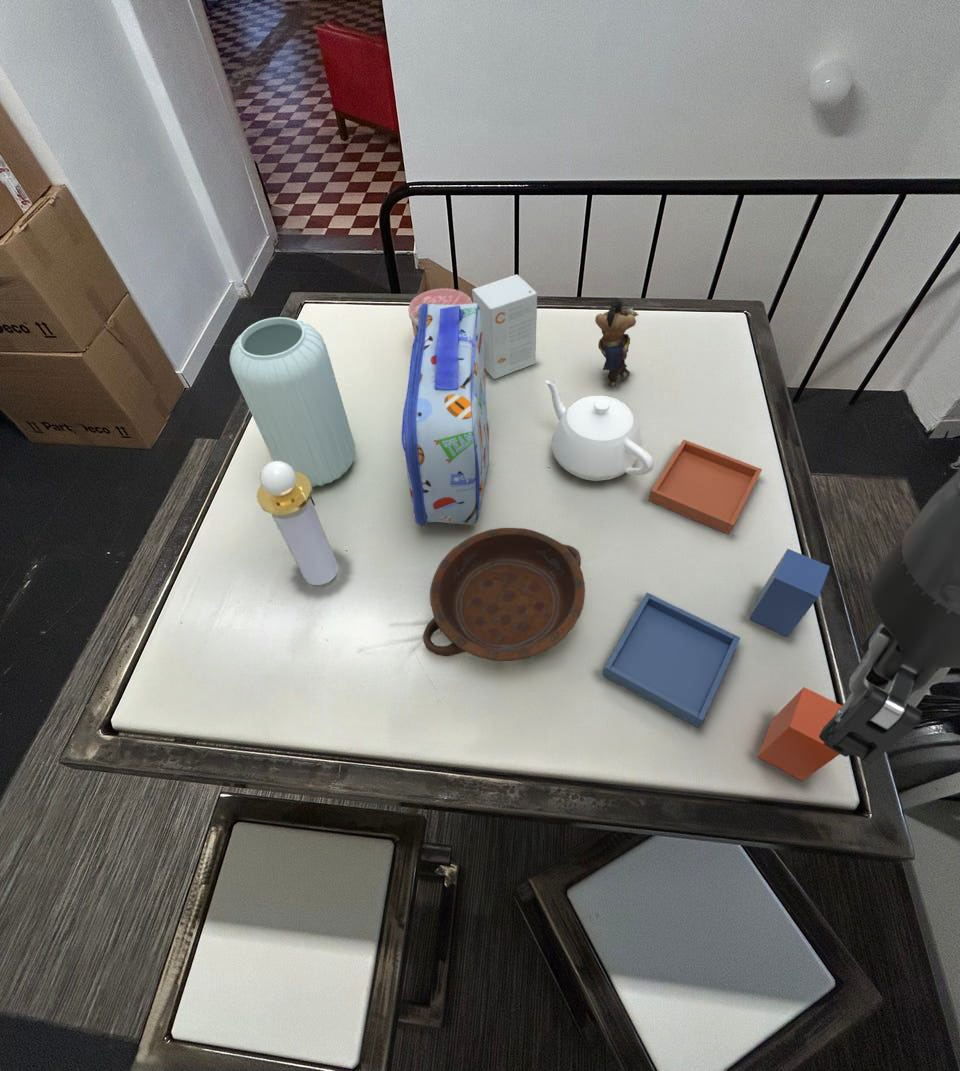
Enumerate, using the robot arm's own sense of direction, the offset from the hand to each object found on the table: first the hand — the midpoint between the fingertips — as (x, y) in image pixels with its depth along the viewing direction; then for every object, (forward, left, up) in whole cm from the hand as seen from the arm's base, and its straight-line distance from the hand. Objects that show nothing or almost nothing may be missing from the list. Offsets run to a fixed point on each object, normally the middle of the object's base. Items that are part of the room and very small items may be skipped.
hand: (856, 696), depth 44 cm
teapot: (+35, -31, -22) cm, 52 cm away
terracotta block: (-1, -4, -22) cm, 22 cm away
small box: (+57, -43, -22) cm, 75 cm away
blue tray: (+13, -7, -22) cm, 26 cm away
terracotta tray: (+19, -33, -22) cm, 44 cm away
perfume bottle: (+55, +5, -22) cm, 59 cm away
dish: (+32, -3, -22) cm, 39 cm away
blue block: (+5, -19, -22) cm, 30 cm away
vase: (+68, -9, -22) cm, 72 cm away
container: (+68, -41, -22) cm, 82 cm away
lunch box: (+51, -19, -22) cm, 58 cm away
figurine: (+40, -47, -22) cm, 66 cm away
